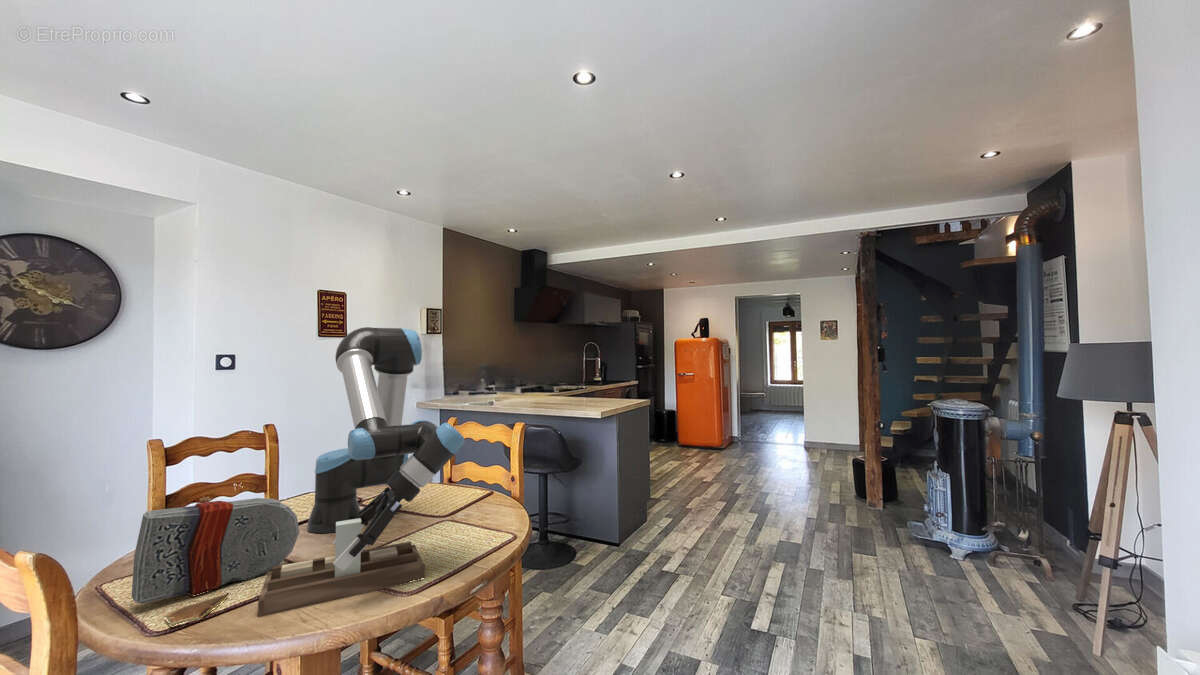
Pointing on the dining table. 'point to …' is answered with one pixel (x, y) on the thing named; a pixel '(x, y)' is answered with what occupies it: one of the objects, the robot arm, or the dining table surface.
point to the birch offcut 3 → (382, 553)
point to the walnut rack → (339, 580)
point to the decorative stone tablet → (209, 546)
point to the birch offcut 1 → (296, 568)
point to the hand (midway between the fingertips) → (337, 556)
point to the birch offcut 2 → (329, 562)
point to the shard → (194, 611)
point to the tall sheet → (347, 544)
